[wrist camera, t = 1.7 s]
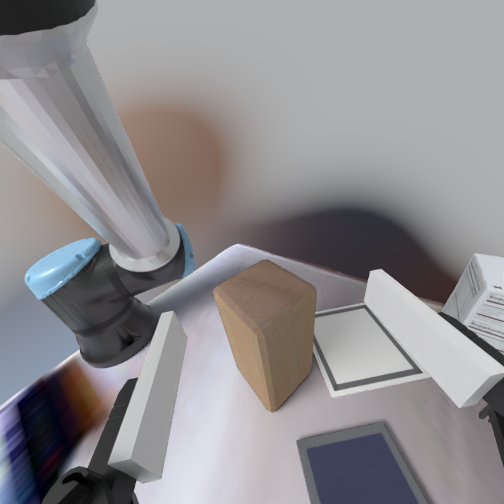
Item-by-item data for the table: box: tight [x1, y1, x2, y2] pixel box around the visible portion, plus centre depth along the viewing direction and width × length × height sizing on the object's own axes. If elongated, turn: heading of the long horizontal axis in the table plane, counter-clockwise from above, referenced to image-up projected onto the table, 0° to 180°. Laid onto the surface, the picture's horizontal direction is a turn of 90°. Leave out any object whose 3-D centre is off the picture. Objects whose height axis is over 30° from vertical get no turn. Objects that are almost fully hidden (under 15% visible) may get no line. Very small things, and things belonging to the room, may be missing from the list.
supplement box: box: [441, 253, 504, 355], centre depth 28 cm, size 10×9×17 cm
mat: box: [313, 302, 431, 398], centre depth 37 cm, size 16×16×1 cm
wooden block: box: [213, 260, 317, 412], centre depth 29 cm, size 10×10×20 cm
